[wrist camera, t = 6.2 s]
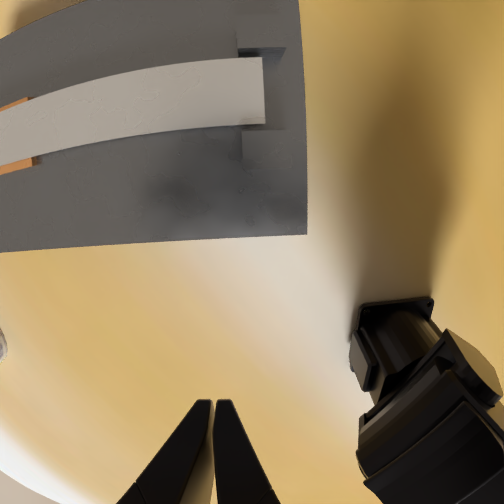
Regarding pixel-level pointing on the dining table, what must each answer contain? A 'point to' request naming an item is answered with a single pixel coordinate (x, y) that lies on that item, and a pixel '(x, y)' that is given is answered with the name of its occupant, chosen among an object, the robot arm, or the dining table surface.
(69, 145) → the steel strap
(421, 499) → the robot arm
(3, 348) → the canned food
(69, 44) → the silver metal tray
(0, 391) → the dining table surface
